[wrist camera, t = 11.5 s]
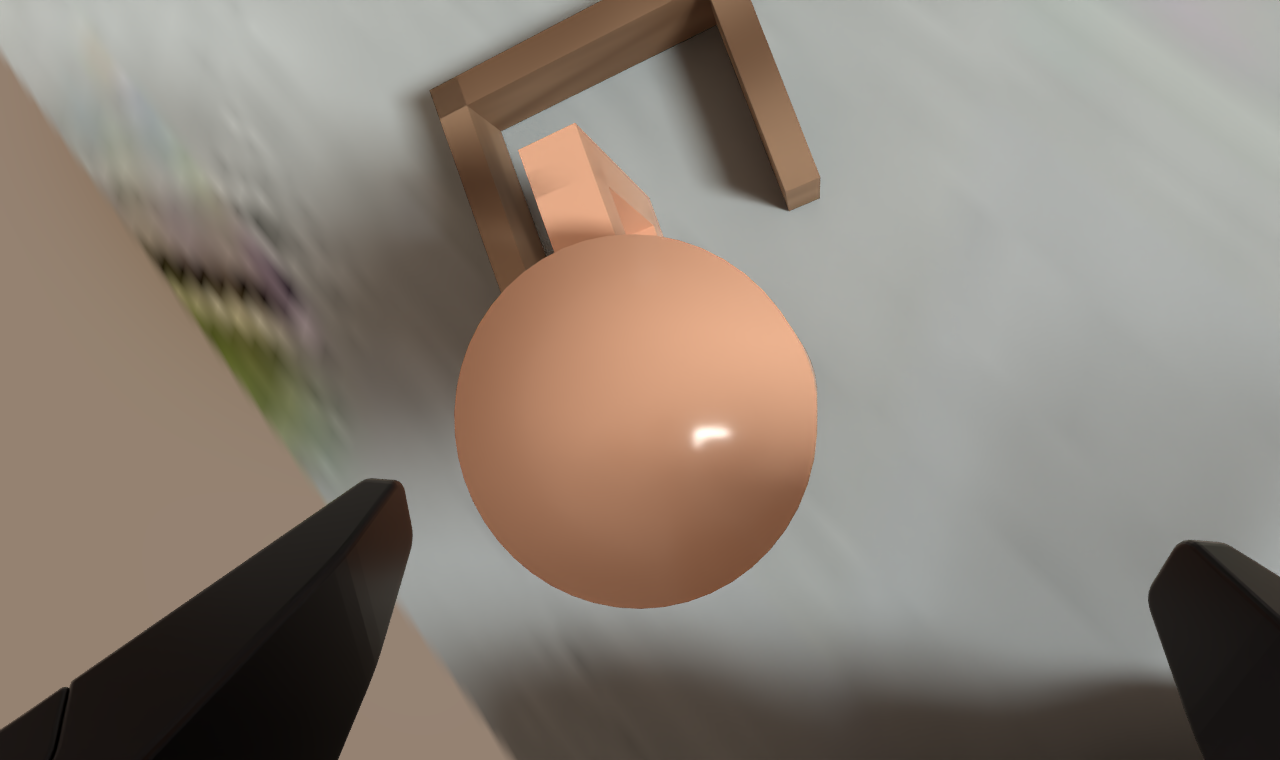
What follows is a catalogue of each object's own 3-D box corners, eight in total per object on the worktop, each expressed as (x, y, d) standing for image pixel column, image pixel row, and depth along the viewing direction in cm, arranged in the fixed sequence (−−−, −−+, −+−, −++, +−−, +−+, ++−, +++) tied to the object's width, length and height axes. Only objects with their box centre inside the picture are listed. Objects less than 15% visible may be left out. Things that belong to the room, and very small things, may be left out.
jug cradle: (819, 198, 22) (820, 177, 20) (537, 316, 25) (507, 311, 22) (735, -18, 23) (725, -65, 20) (466, 117, 25) (429, 90, 23)
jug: (845, 452, 22) (875, 546, 11) (667, 511, 24) (522, 650, 12) (750, 199, 23) (680, 25, 11) (582, 271, 24) (364, 181, 13)
